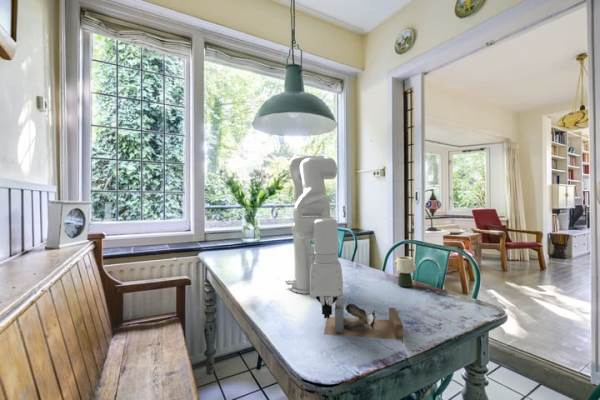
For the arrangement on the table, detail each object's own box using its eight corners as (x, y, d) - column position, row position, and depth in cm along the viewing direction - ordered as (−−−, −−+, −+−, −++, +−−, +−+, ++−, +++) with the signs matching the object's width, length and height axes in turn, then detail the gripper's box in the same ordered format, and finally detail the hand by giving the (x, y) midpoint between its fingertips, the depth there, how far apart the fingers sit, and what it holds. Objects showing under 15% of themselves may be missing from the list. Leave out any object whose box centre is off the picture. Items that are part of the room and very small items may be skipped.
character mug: (420, 287, 125) (420, 258, 125) (411, 290, 120) (411, 261, 120) (399, 281, 133) (399, 255, 133) (390, 284, 129) (390, 257, 129)
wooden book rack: (324, 339, 80) (323, 320, 80) (327, 321, 92) (326, 304, 92) (403, 344, 77) (402, 325, 77) (395, 325, 88) (395, 308, 88)
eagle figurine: (372, 317, 88) (344, 310, 90) (377, 303, 84) (347, 297, 86) (372, 340, 82) (342, 332, 83) (377, 326, 78) (345, 319, 79)
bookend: (335, 333, 81) (334, 309, 81) (336, 318, 91) (336, 297, 91) (343, 333, 80) (343, 309, 80) (344, 318, 90) (343, 297, 90)
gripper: (300, 260, 84) (301, 320, 84) (350, 261, 81) (351, 323, 81) (304, 255, 91) (305, 310, 91) (350, 256, 88) (351, 313, 89)
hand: (327, 316), depth 86 cm, fingers closed
